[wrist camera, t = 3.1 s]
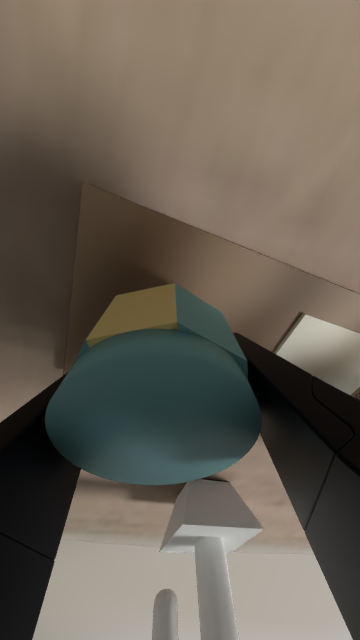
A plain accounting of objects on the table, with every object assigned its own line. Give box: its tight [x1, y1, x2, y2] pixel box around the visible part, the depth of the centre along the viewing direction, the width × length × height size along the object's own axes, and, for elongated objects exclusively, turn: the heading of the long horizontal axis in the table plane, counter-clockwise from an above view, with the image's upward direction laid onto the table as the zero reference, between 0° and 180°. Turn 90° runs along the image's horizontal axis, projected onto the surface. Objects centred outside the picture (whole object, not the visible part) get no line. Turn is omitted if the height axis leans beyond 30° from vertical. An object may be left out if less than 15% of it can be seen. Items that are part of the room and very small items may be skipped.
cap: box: [45, 283, 262, 485], centre depth 7 cm, size 6×6×4 cm
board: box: [63, 182, 360, 397], centre depth 9 cm, size 18×10×5 cm, turn 70°
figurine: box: [152, 479, 264, 640], centre depth 14 cm, size 7×9×15 cm
